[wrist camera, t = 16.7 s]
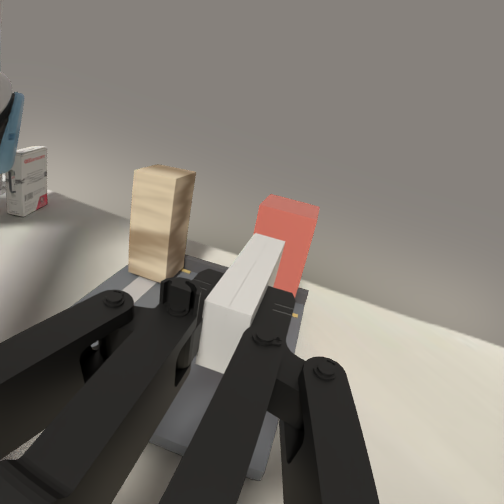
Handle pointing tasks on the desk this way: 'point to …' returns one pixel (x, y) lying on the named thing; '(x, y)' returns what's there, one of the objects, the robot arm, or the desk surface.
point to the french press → (0, 188)
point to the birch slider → (159, 221)
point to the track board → (197, 368)
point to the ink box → (27, 181)
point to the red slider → (288, 235)
